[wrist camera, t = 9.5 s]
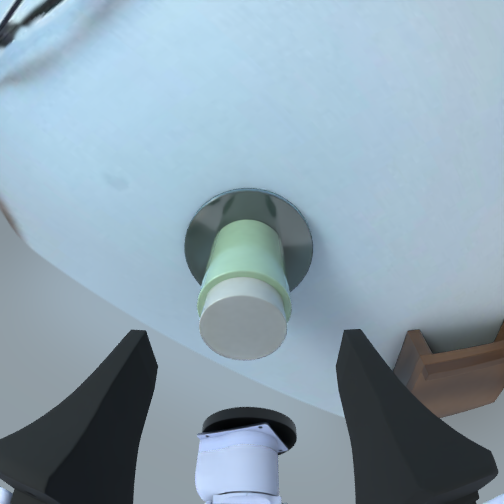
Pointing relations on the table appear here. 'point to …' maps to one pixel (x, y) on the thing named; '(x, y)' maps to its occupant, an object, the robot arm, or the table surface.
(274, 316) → the shaker
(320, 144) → the table surface
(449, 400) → the shelf
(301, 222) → the coaster
